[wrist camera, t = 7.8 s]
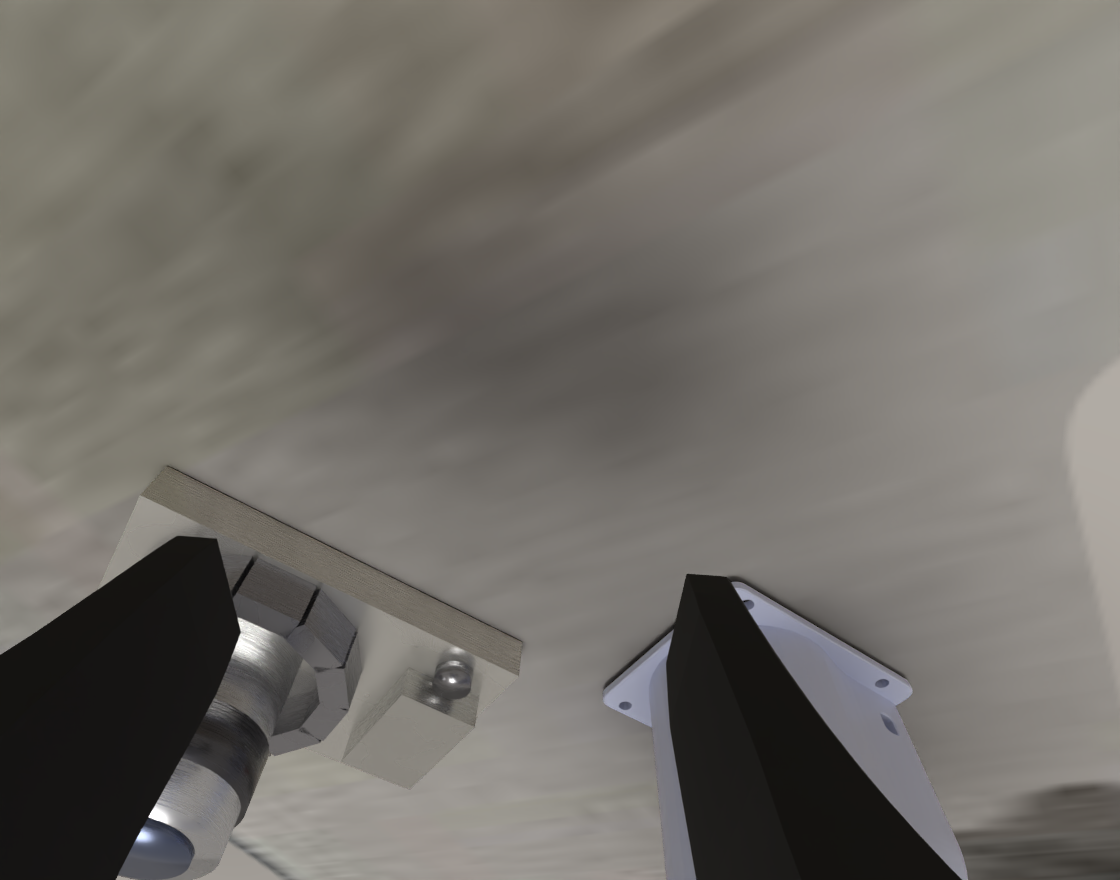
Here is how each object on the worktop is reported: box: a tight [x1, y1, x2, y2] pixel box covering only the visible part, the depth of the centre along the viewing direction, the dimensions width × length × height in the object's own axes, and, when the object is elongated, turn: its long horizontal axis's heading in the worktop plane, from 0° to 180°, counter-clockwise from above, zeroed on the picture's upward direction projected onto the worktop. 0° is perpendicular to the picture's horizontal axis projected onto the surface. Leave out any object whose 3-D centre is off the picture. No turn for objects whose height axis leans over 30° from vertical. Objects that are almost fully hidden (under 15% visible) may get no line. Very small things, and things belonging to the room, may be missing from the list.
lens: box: [118, 617, 303, 880], centre depth 21 cm, size 5×5×7 cm
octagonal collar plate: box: [98, 466, 522, 790], centre depth 25 cm, size 14×9×3 cm, turn 55°
